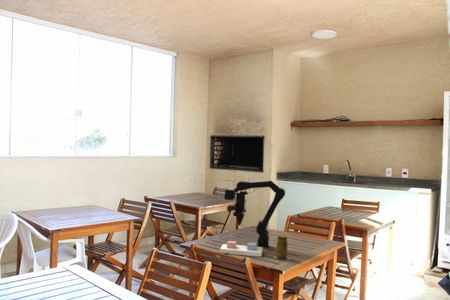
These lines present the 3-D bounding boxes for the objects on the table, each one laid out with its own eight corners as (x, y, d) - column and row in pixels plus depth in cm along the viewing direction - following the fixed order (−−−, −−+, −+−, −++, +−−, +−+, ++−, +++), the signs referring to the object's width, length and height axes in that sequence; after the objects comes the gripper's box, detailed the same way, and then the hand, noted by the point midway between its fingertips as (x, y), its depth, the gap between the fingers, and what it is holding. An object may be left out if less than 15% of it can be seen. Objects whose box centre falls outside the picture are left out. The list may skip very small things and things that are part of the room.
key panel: (262, 251, 233) (262, 247, 233) (261, 256, 222) (261, 252, 222) (222, 248, 237) (223, 243, 237) (219, 253, 225) (219, 248, 225)
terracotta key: (236, 248, 232) (236, 241, 232) (235, 250, 227) (235, 243, 227) (227, 247, 233) (228, 240, 233) (226, 249, 228) (227, 242, 228)
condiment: (280, 255, 226) (281, 234, 226) (292, 258, 220) (293, 237, 220) (272, 257, 221) (273, 236, 221) (285, 261, 215) (286, 239, 215)
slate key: (256, 249, 230) (256, 243, 230) (255, 252, 226) (256, 245, 226) (247, 249, 231) (248, 242, 231) (247, 251, 226) (247, 244, 226)
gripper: (230, 198, 259) (228, 221, 259) (225, 202, 241) (224, 227, 241) (246, 199, 257) (245, 223, 257) (243, 203, 239) (242, 228, 239)
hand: (239, 225), depth 249 cm, fingers closed
